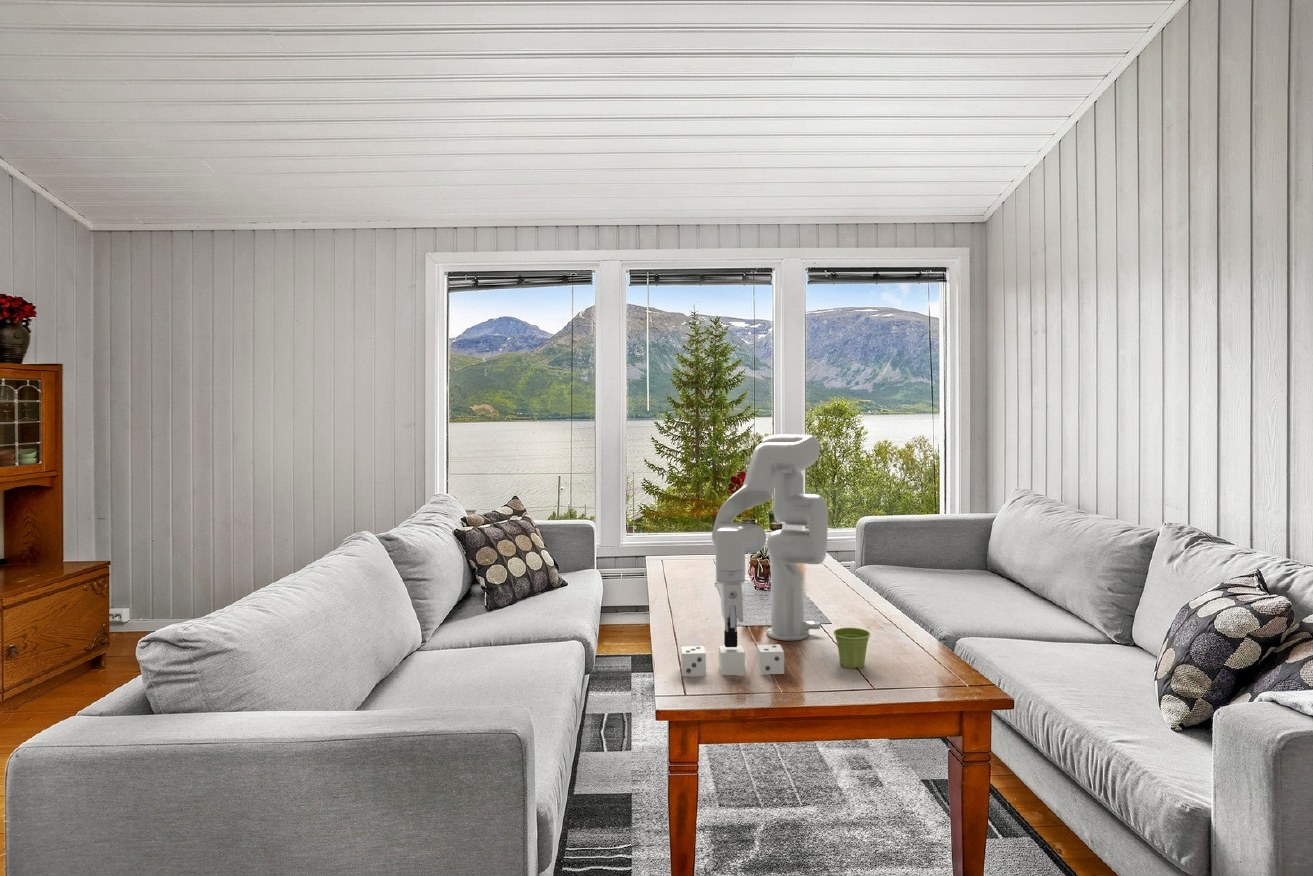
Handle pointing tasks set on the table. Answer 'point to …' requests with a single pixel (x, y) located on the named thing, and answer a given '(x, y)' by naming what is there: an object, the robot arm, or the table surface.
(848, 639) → the plant pot
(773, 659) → the two dot block
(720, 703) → the table surface
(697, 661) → the three dot block
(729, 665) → the plain block
